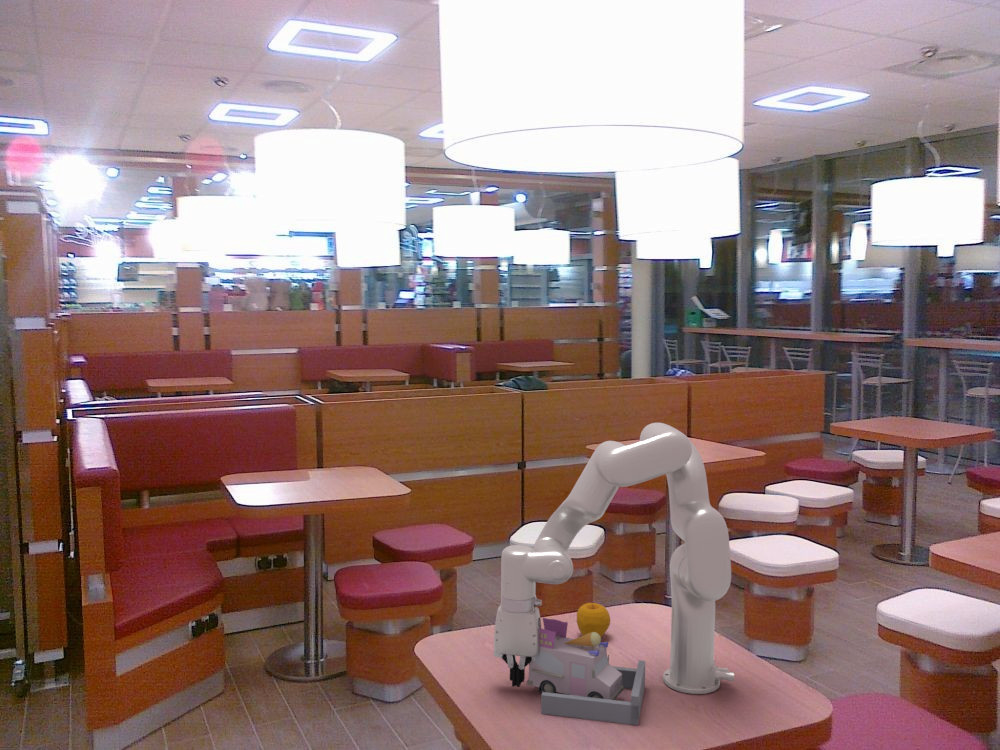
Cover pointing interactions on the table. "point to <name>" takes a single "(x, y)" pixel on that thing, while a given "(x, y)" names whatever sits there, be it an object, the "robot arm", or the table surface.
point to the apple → (593, 619)
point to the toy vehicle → (573, 664)
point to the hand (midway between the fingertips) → (517, 683)
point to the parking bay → (601, 701)
